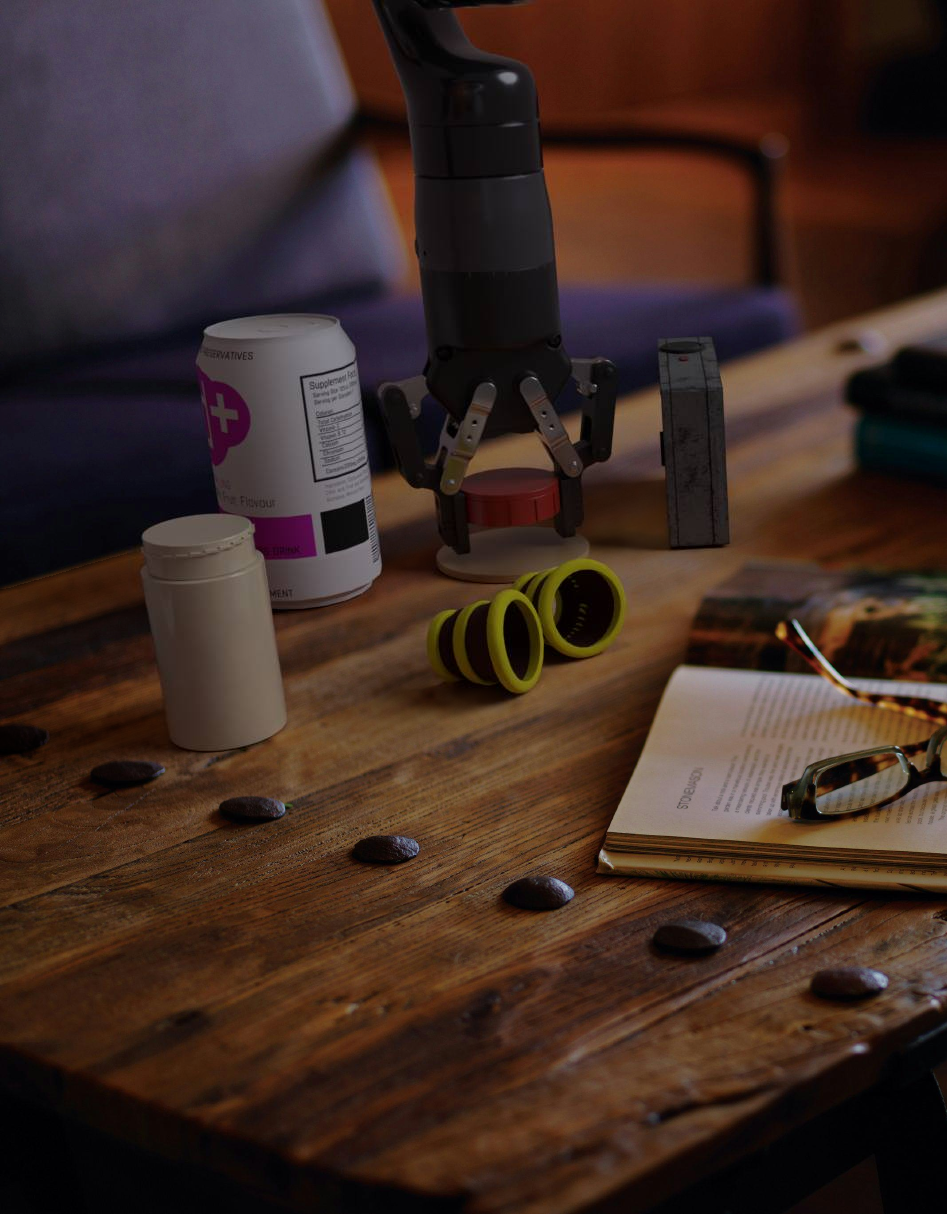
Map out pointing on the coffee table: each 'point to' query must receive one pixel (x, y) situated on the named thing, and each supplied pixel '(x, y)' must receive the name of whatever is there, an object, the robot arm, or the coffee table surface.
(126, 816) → the coffee table surface
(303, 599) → the supplement can
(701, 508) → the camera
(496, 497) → the jar lid
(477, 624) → the opera glasses
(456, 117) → the robot arm
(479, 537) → the coaster
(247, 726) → the jar
